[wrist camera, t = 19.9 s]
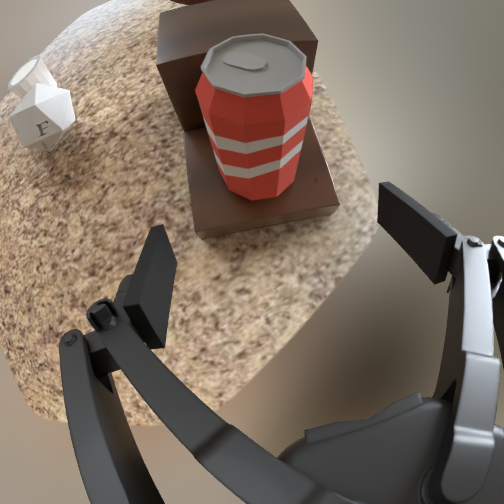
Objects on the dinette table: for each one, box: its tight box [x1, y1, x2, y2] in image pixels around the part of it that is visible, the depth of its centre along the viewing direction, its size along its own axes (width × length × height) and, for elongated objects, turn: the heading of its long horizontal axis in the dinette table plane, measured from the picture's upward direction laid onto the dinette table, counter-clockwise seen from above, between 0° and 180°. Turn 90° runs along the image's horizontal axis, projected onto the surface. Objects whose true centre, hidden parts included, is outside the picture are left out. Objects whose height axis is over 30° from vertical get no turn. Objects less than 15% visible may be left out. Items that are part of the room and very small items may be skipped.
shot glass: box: [8, 56, 57, 99], centre depth 27 cm, size 7×7×7 cm
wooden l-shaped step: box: [156, 0, 340, 239], centre depth 21 cm, size 20×12×11 cm, turn 11°
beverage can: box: [195, 33, 314, 201], centre depth 17 cm, size 6×6×12 cm
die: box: [9, 83, 75, 152], centre depth 24 cm, size 8×9×10 cm
